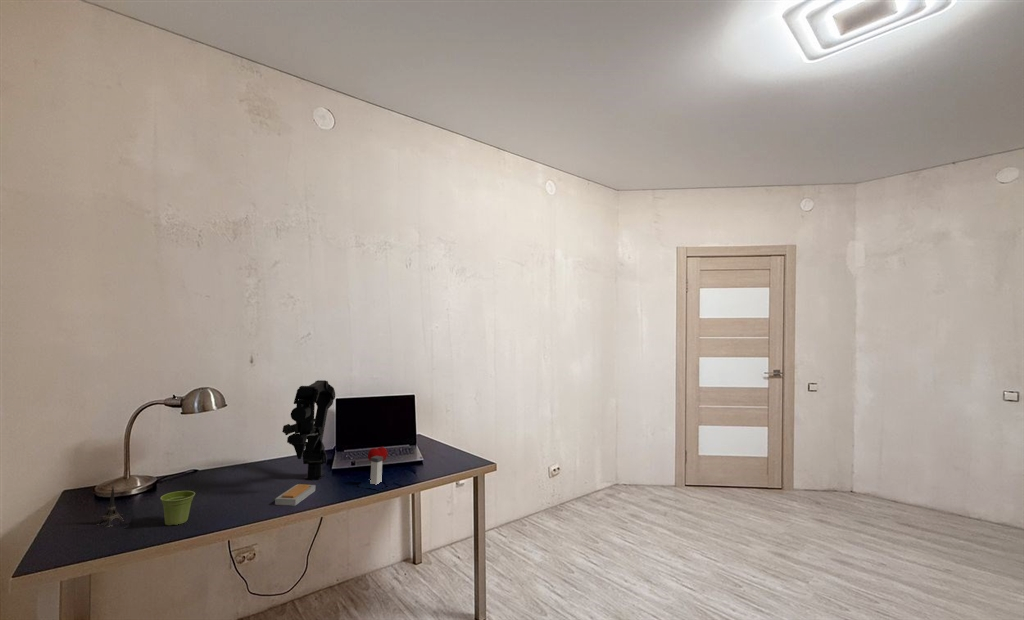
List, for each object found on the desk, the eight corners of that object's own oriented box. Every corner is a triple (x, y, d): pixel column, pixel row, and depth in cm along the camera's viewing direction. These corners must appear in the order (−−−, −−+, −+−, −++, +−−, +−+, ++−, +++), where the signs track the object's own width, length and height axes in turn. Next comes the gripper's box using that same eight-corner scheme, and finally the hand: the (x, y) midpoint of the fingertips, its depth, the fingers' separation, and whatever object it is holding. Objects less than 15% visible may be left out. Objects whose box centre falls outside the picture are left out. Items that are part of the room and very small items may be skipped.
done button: (298, 488, 187) (299, 484, 187) (309, 489, 187) (309, 484, 187) (282, 500, 174) (282, 495, 174) (293, 500, 174) (293, 495, 174)
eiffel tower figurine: (128, 530, 150) (130, 487, 150) (85, 536, 144) (88, 492, 145) (136, 513, 162) (138, 474, 163) (97, 519, 157) (100, 478, 158)
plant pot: (181, 514, 162) (183, 488, 162) (200, 519, 158) (201, 493, 158) (152, 524, 153) (153, 497, 153) (170, 530, 149) (172, 502, 150)
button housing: (296, 489, 189) (296, 484, 189) (315, 490, 188) (315, 485, 188) (274, 504, 173) (275, 498, 173) (295, 505, 172) (295, 499, 172)
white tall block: (369, 484, 196) (370, 457, 197) (375, 481, 200) (376, 455, 200) (376, 485, 195) (377, 458, 195) (382, 483, 198) (383, 456, 199)
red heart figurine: (382, 466, 224) (383, 444, 224) (390, 469, 218) (390, 447, 219) (364, 469, 217) (365, 447, 218) (371, 473, 212) (372, 451, 212)
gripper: (298, 412, 201) (296, 449, 201) (274, 420, 183) (272, 461, 182) (324, 413, 201) (322, 450, 200) (303, 421, 182) (301, 462, 182)
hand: (304, 455), depth 191 cm, fingers open, 9 cm apart
